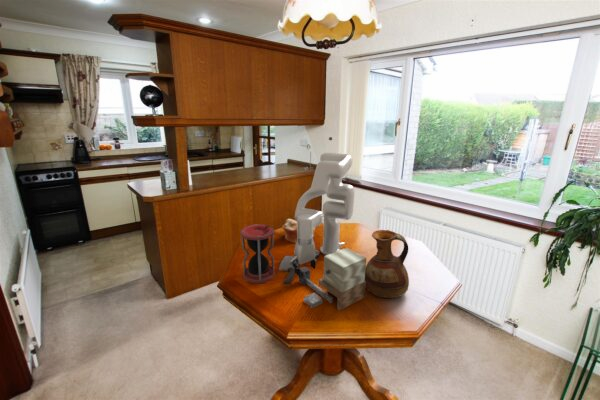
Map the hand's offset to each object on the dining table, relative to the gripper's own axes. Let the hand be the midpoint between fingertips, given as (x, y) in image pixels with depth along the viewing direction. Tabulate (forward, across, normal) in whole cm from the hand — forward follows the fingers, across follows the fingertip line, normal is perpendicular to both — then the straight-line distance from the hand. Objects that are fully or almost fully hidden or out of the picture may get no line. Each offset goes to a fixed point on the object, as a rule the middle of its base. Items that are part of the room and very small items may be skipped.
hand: (305, 271), depth 143 cm
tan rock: (+8, -28, -43) cm, 52 cm away
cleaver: (+6, +1, -14) cm, 15 cm away
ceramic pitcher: (+6, -26, +28) cm, 39 cm away
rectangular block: (+6, +7, +15) cm, 18 cm away
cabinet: (+6, -6, +20) cm, 21 cm away
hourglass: (+6, +16, -18) cm, 25 cm away
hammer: (+6, +1, +9) cm, 11 cm away
